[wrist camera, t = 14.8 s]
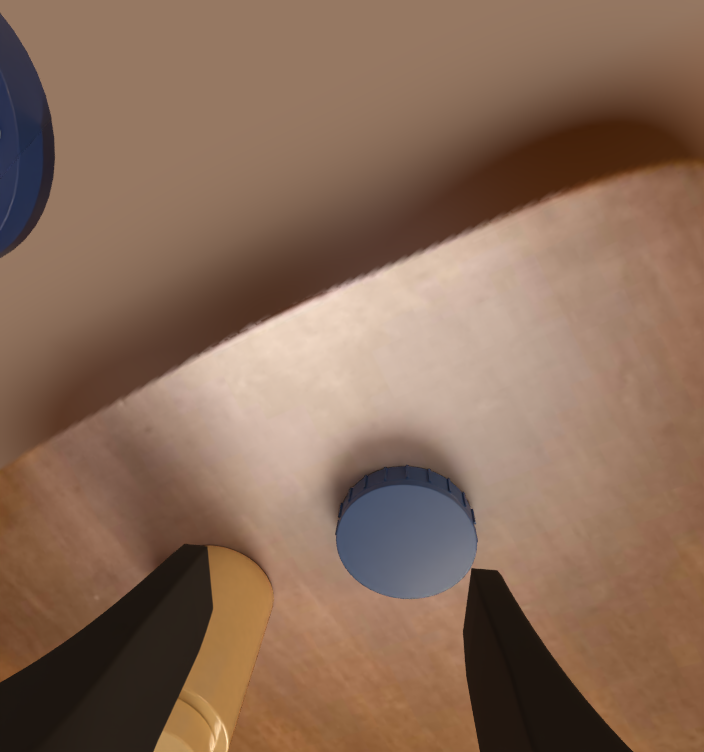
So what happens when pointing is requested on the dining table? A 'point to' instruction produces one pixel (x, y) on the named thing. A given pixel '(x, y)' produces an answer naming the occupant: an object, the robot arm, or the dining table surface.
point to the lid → (406, 533)
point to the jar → (221, 657)
